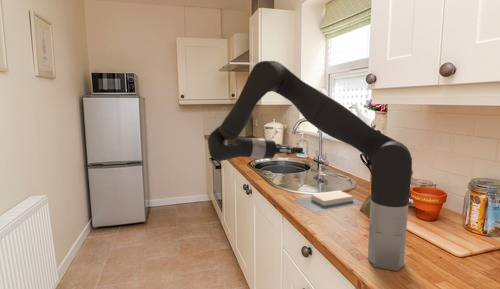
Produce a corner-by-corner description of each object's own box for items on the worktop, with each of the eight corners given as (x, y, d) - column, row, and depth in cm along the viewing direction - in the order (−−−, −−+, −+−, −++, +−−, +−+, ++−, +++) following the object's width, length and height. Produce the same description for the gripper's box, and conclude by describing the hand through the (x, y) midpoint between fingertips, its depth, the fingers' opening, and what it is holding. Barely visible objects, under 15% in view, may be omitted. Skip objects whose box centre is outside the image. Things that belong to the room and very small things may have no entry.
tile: (324, 200, 121) (353, 196, 127) (311, 194, 130) (339, 190, 135) (324, 206, 122) (353, 201, 127) (311, 200, 130) (339, 195, 136)
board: (313, 215, 116) (313, 212, 116) (292, 202, 130) (292, 200, 130) (365, 205, 126) (365, 203, 126) (340, 195, 140) (340, 192, 140)
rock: (397, 217, 107) (386, 204, 117) (385, 200, 106) (375, 188, 115) (371, 233, 109) (362, 219, 119) (359, 216, 108) (351, 203, 117)
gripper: (268, 139, 105) (311, 142, 111) (255, 137, 118) (295, 139, 123) (266, 160, 106) (309, 162, 111) (254, 155, 118) (293, 157, 124)
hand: (301, 150), depth 117 cm, fingers closed
